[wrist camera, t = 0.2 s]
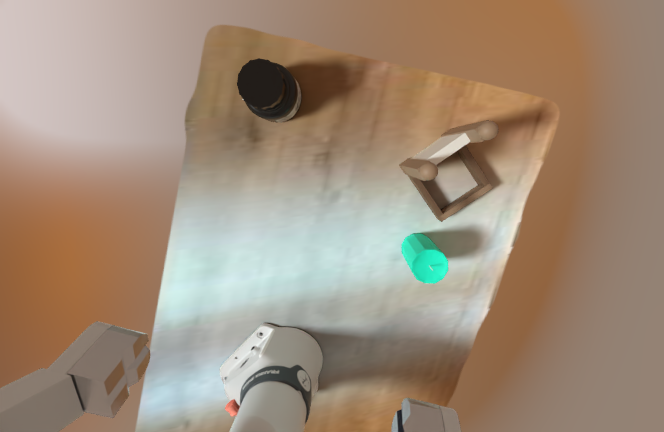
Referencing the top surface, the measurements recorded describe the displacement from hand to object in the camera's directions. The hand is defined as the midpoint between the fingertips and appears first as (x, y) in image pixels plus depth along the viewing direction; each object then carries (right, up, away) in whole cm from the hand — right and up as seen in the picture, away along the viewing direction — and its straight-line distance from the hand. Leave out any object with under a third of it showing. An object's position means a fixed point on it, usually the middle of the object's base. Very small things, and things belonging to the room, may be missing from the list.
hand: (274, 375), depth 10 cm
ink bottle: (-8, +26, +49) cm, 56 cm away
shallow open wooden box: (+23, +12, +50) cm, 56 cm away
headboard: (+19, +17, +49) cm, 55 cm away
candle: (+18, -1, +53) cm, 56 cm away
